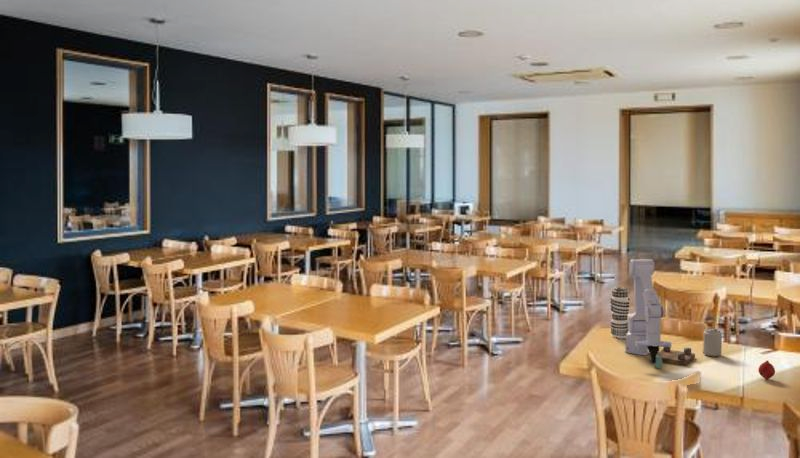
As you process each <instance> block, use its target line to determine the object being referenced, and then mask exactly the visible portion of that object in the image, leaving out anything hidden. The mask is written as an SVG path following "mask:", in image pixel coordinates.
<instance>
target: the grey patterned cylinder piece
mask: <svg viewBox="0 0 800 458" xmlns="http://www.w3.org/2000/svg"><path fill="white" fill-rule="evenodd" d="M629 291H630V290H629V289H628V288H627V287H625V286H618V285H617V286H615V287H613V289H611V297H610V299H609V300H610V304H611V305H610V307H611V308H610V310H611V312H610V314H611V322H610V324H611V325H610V327H611V328H610V337H612V336H613V338H616V337H617V339H626V335H627V333H628V332H629V331H628V317H629V316H628V315H629V311H630V309H628V308H629V307H630V302H629V301H630V300H631V299H630V298H629Z"/></svg>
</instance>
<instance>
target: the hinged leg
mask: <svg viewBox="0 0 800 458" xmlns="http://www.w3.org/2000/svg"><path fill="white" fill-rule="evenodd" d="M649 362H650V363H651V355H650V354H649ZM653 365H654V367H655V368H656V369H662V368H663V362H662V359H661V358H660V357H659V356H658V354H657V355H656V357H655V364H653Z"/></svg>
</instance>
